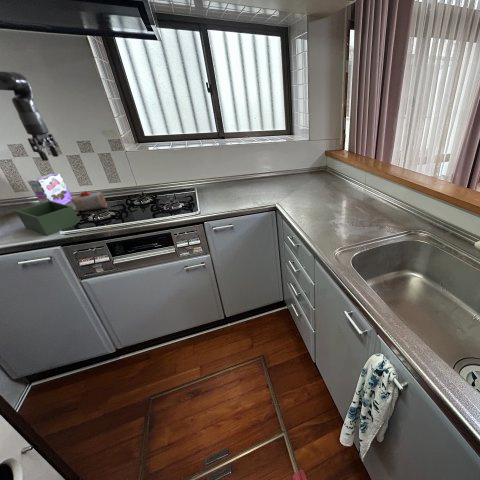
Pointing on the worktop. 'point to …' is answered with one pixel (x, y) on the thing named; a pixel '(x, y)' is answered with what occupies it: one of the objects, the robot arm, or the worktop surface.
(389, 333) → the worktop surface
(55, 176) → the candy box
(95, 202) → the food item
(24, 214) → the bin
